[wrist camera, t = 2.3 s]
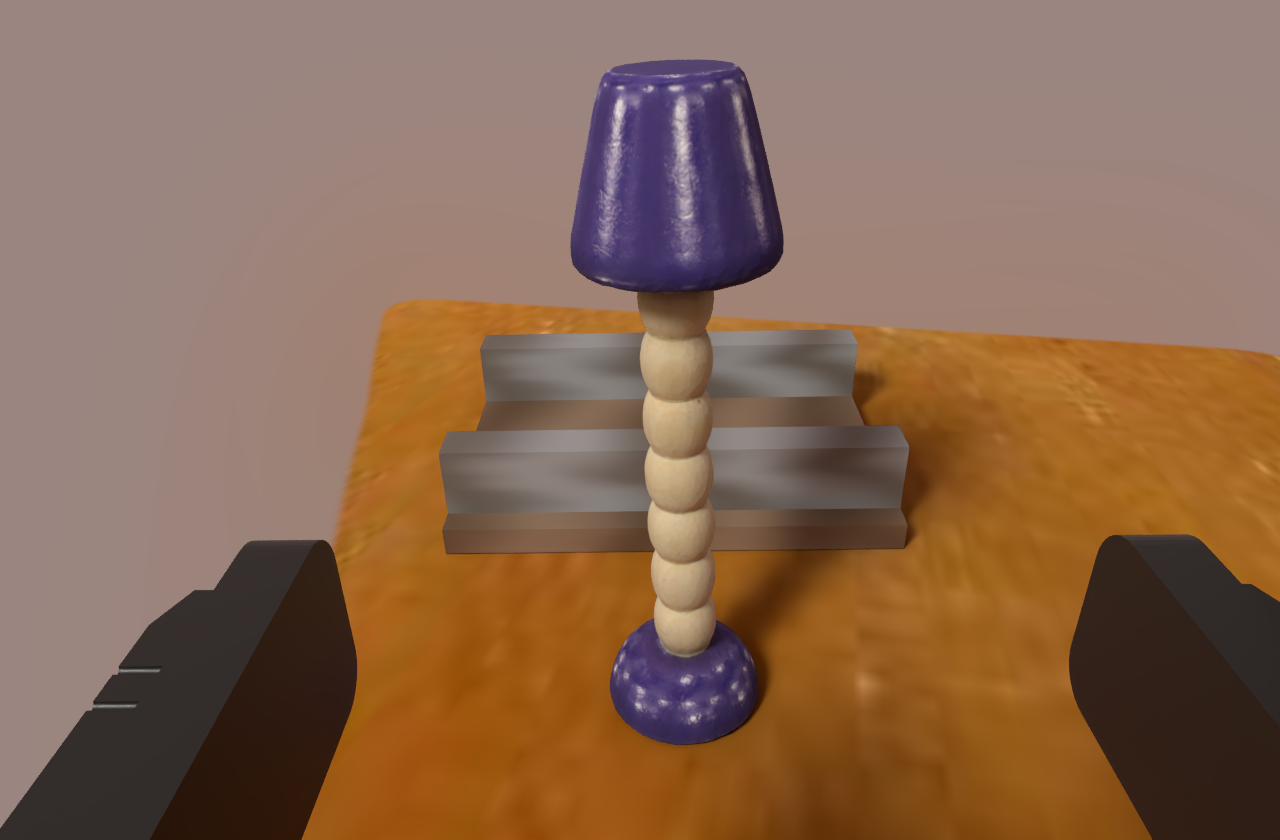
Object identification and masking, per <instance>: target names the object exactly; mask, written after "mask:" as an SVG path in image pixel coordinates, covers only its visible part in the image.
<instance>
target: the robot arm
mask: <svg viewBox="0 0 1280 840" xmlns="http://www.w3.org/2000/svg"><path fill="white" fill-rule="evenodd" d="M1069 671H1070V680H1071V685H1072V690H1073V694H1074V697H1075V700H1076V703H1077V705H1078V707H1079V709H1080V711H1081V713H1082V715H1083V717H1084V719H1085V720H1086V722H1087V724H1088V726H1089V727H1090V729H1091V731H1092V733H1093V735H1094V736H1095V738H1096V740H1097V742H1098V743H1099V745H1100V747H1101V749H1102V750H1103V752H1104V754H1105V756H1106V758H1107V759H1108V761H1109V763H1110V765H1111V766H1112V768H1113V770H1114V772H1115V773H1116V775H1117V777H1118V779H1119V780H1120V782H1121V784H1122V786H1123V788H1124V789H1125V791H1126V793H1127V795H1128V796H1129V798H1130V800H1131V802H1132V803H1133V805H1134V807H1135V809H1136V811H1137V812H1138V814H1139V816H1140V818H1141V819H1142V821H1143V823H1144V825H1145V826H1146V828H1147V830H1148V832H1149V834H1150V835H1151V837H1152V839H1153V840H1280V602H1279V601H1277V600H1276V599H1274V598H1272V597H1271V596H1269V595H1268V594H1266V593H1264V592H1263V591H1261V590H1260V589H1258V588H1257V587H1255V586H1253V585H1252V584H1241V583H1240V582H1239V581H1238V580H1237V578H1236V577H1235V576H1234V575H1233V574H1232V573H1231V572H1230V571H1229V570H1228V569H1227V568H1226V567H1225V566H1224V564H1223V563H1222V562H1221V561H1220V560H1219V559H1218V558H1217V557H1216V556H1215V555H1214V554H1213V553H1212V552H1211V551H1210V549H1209V548H1208V547H1207V546H1206V545H1205V544H1204V543H1203V542H1202V541H1201V540H1199V539H1198V538H1196V537H1194V536H1191V535H1113V536H1110V537H1108V538H1107V539H1105V541H1104V542H1103V543H1102V545H1101V546H1100V548H1099V551H1098V553H1097V556H1096V560H1095V564H1094V567H1093V571H1092V574H1091V578H1090V581H1089V585H1088V588H1087V592H1086V595H1085V599H1084V602H1083V606H1082V609H1081V613H1080V616H1079V620H1078V623H1077V627H1076V630H1075V634H1074V637H1073V641H1072V645H1071V649H1070V656H1069ZM356 681H357V657H356V650H355V645H354V640H353V636H352V631H351V627H350V622H349V618H348V613H347V609H346V604H345V600H344V595H343V591H342V586H341V582H340V577H339V573H338V568H337V564H336V559H335V556H334V553H333V550H332V548H331V546H330V545H329V543H328V542H326V541H324V540H279V541H277V540H273V541H272V540H271V541H250V542H248V543H247V544H246V545H244V547H243V548H242V549H241V550H240V552H239V553H238V554H237V556H236V558H235V559H234V561H233V562H232V563H231V565H230V566H229V568H228V569H227V571H226V572H225V574H224V576H223V577H222V578H221V580H220V581H219V583H218V584H217V586H216V588H215V589H214V590H194V591H193V592H192V593H190V594H189V595H188V596H186V597H185V598H184V599H183V600H181V601H180V602H179V603H177V604H176V605H175V606H173V607H172V608H171V609H169V610H168V611H167V612H166V613H164V614H163V615H162V616H160V617H159V618H158V619H156V620H155V621H154V622H152V623H151V624H150V625H149V626H148V627H147V629H146V630H145V631H144V633H143V634H142V635H141V637H140V638H139V640H138V641H137V642H136V644H135V645H134V646H133V648H132V649H131V650H130V652H129V653H128V655H127V656H126V657H125V659H124V660H123V661H122V663H121V664H120V665H119V673H118V675H112V677H111V678H110V679H109V680H108V682H107V683H106V685H105V686H104V687H103V689H102V690H101V692H100V693H99V694H98V696H97V697H96V698H95V700H94V701H93V703H94V706H93V709H92V711H86V712H85V713H84V715H83V716H82V717H81V719H80V720H79V722H78V723H77V724H76V726H75V727H74V728H73V730H72V731H71V733H70V734H69V735H68V737H67V738H66V739H65V741H64V742H63V743H62V745H61V746H60V748H59V749H58V750H57V752H56V753H55V754H54V756H53V757H52V759H51V760H50V761H49V763H48V764H47V765H46V767H45V768H44V769H43V771H42V772H41V774H40V775H39V777H38V778H37V779H36V780H35V782H34V783H33V785H32V786H31V787H30V789H29V790H28V791H27V793H26V794H25V795H24V797H23V798H22V800H21V801H20V802H19V804H18V805H17V807H16V808H15V809H14V811H13V812H12V813H11V815H10V816H9V817H8V819H7V820H6V822H5V823H4V824H3V826H2V827H1V828H0V840H301V839H302V837H303V834H304V831H305V829H306V826H307V824H308V821H309V818H310V816H311V813H312V811H313V808H314V805H315V803H316V800H317V798H318V795H319V792H320V790H321V787H322V785H323V782H324V779H325V777H326V774H327V772H328V769H329V767H330V764H331V761H332V759H333V756H334V754H335V751H336V748H337V746H338V743H339V741H340V738H341V735H342V733H343V730H344V728H345V725H346V722H347V720H348V717H349V715H350V712H351V709H352V705H353V701H354V696H355V690H356Z"/></svg>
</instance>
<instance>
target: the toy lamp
mask: <svg viewBox="0 0 1280 840" xmlns="http://www.w3.org/2000/svg"><path fill="white" fill-rule="evenodd" d="M782 254H783V230H782V225H781V220H780V215H779V211H778V206H777V201H776V197H775V192H774V187H773V183H772V179H771V175H770V170H769V165H768V160H767V156H766V152H765V148H764V144H763V140H762V135H761V131H760V126H759V122H758V118H757V114H756V110H755V106H754V102H753V98H752V94H751V90H750V87H749V84H748V81H747V78H746V76H745V73H744V72H743V71H742V70H741V69H740V67H739V66H737V65H735V64H733V63H731V62H724V61H715V60H665V61H650V62H641V63H634V64H626V65H621V66H617V67H613V68H612V69H610V70H608V71H607V72H606V73H605V74H604V76H603V77H602V79H601V81H600V84H599V87H598V90H597V93H596V97H595V102H594V107H593V113H592V118H591V124H590V129H589V135H588V140H587V145H586V151H585V156H584V163H583V168H582V174H581V180H580V185H579V191H578V197H577V204H576V210H575V216H574V222H573V228H572V233H571V258H572V262H573V265H574V266H575V268H576V269H577V270H578V271H579V273H581V274H582V275H583V276H585V277H586V278H587V279H589V280H591V281H594V282H596V283H598V284H600V285H602V286H610V287H614V288H617V289H622V290H627V291H634V292H637V299H638V308H639V312H640V315H641V319H642V321H643V323H644V325H645V327H646V328H647V331H646V333H645V335H644V337H643V340H642V344H641V351H640V365H641V372H642V375H643V378H644V381H645V383H646V385H647V387H648V389H649V390H648V392H647V394H646V397H645V400H644V405H643V427H644V432H645V435H646V438H647V440H648V442H649V444H650V447H649V449H648V452H647V455H646V459H645V470H644V471H645V480H646V486H647V489H648V492H649V495H650V497H651V498H652V502H651V504H650V507H649V511H648V532H649V536H650V540H651V543H652V545H653V546H654V548H655V551H654V554H653V558H652V563H651V576H652V582H653V586H654V590H655V592H656V594H657V596H658V597H657V600H656V602H655V608H654V619H652V620H650V621H647V622H646V623H644V624H643V625H641V626H640V627H639V628H638V629H636V630H635V631H634V632H633V633H631V634H630V636H629V637H628V638H627V640H626V641H625V642H624V644H623V645H622V647H621V649H620V650H619V652H618V654H617V657H616V659H615V662H614V666H613V670H612V673H611V680H610V691H611V697H612V700H613V703H614V706H615V709H616V710H617V712H618V713H619V714H620V716H621V717H622V718H623V720H624V721H625V722H626V723H627V724H629V725H630V726H631V727H632V728H633V729H635V730H636V731H638V732H639V733H641V734H642V735H644V736H647V737H649V738H651V739H653V740H656V741H660V742H665V743H669V744H675V745H686V744H695V743H704V742H707V741H711V740H714V739H716V738H718V737H721V736H723V735H726V734H728V733H729V732H731V731H733V730H734V729H736V728H737V727H739V726H740V725H741V724H743V722H744V721H745V720H746V719H747V717H748V716H749V715H750V714H751V712H752V711H753V708H754V706H755V703H756V700H757V695H758V676H757V670H756V668H755V665H754V662H753V658H752V656H751V654H750V652H749V650H748V649H747V647H746V645H745V644H744V643H743V642H742V640H741V639H740V638H739V637H738V636H737V635H736V634H735V632H734V631H732V630H731V629H729V628H728V627H727V626H726V625H724V624H722V623H721V622H719V621H717V620H716V610H715V604H714V601H713V599H712V596H711V593H712V590H713V587H714V582H715V563H714V558H713V555H712V552H711V550H710V548H709V547H710V546H711V544H712V541H713V538H714V532H715V516H714V511H713V507H712V505H711V502H710V500H709V498H708V497H709V495H710V493H711V489H712V486H713V480H714V467H713V461H712V457H711V454H710V451H709V449H708V447H707V445H706V444H707V442H708V440H709V438H710V435H711V431H712V424H713V411H712V404H711V400H710V397H709V394H708V392H707V391H706V387H707V385H708V383H709V380H710V377H711V373H712V368H713V350H712V345H711V340H710V337H709V335H708V333H707V331H706V329H705V328H706V326H707V324H708V322H709V320H710V317H711V313H712V310H713V302H714V291H715V290H720V289H724V288H728V287H732V286H736V285H740V284H744V283H747V282H749V281H752V280H754V279H756V278H759V277H761V276H763V275H764V274H767V273H768V272H770V271H771V270H772V269H773V268H774V267H775V266H776V265H777V263H778V262H779V260H780V258H781V256H782Z"/></svg>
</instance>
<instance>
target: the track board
mask: <svg viewBox="0 0 1280 840" xmlns="http://www.w3.org/2000/svg"><path fill="white" fill-rule="evenodd" d="M707 333H708V335H709V337H710V340H711V345H712V350H713V368H712V373H711V377H710V380H709V383H708V385H707V387H706V391H707V392H708V394H709V397H710V400H711V404H712V411H713V424H712V431H711V435H710V438H709V440H708V442H707V444H706V445H707V447H708V449H709V451H710V454H711V457H712V461H713V467H714V480H713V486H712V489H711V493H710V495H709V497H708V498H709V500H710V502H711V505H712V507H713V511H714V516H715V532H714V538H713V541H712V544H711V546H710V547H709V548H710V550H798V549H885V548H904V546H905V539H906V533H907V526H908V524H907V522H906V520H905V517H904V515H903V513H902V510H901V501H902V494H903V488H904V481H905V474H906V467H907V461H908V454H909V445H908V443H907V441H906V439H905V437H904V435H903V433H902V431H901V429H900V427H899V425H885V426H865V425H864V422H863V420H862V418H861V416H860V413H859V411H858V409H857V406H856V404H855V402H854V399H853V397H852V392H853V383H854V373H855V364H856V355H857V346H858V343H857V341H856V339H855V337H854V335H853V333H852V331H851V329H844V330H781V331H718V332H707ZM644 335H645V333H592V334H529V335H486V336H485V339H484V341H483V344H482V346H481V349H480V352H481V360H482V369H483V377H484V385H485V394H486V404H485V407H484V410H483V413H482V416H481V419H480V422H479V425H478V427H477V430H476V431H455V432H447V434H446V437H445V439H444V442H443V444H442V447H441V449H440V452H439V458H440V465H441V471H442V478H443V484H444V491H445V497H446V503H447V510H448V515H447V518H446V521H445V524H444V527H443V530H442V531H443V538H444V544H445V550H446V554H449V553H536V552H623V551H655V548H654V546H653V545H652V543H651V540H650V536H649V532H648V511H649V507H650V504H651V502H652V498H651V497H650V495H649V492H648V489H647V486H646V480H645V471H644V470H645V459H646V455H647V452H648V449H649V447H650V444H649V442H648V440H647V438H646V435H645V432H644V427H643V405H644V400H645V397H646V394H647V392H648V390H649V389H648V387H647V385H646V383H645V381H644V378H643V375H642V372H641V365H640V351H641V344H642V340H643V337H644Z"/></svg>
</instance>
